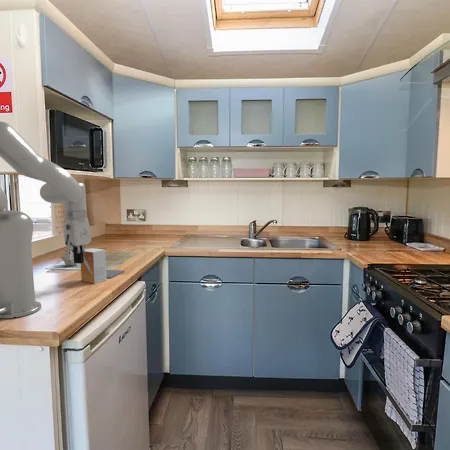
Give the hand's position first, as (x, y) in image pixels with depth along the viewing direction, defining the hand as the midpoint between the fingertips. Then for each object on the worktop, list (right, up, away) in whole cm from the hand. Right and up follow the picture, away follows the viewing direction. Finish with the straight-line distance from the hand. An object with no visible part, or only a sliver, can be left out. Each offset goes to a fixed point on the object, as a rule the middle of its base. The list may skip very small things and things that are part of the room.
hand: (78, 262), depth 128 cm
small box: (+2, -9, +10) cm, 13 cm away
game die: (-20, -6, +36) cm, 41 cm away
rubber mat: (+4, -7, +19) cm, 21 cm away
